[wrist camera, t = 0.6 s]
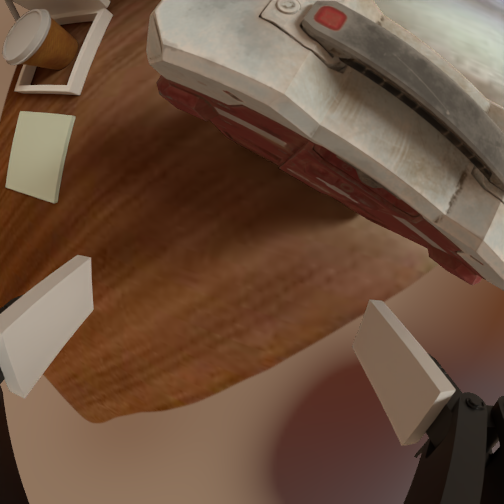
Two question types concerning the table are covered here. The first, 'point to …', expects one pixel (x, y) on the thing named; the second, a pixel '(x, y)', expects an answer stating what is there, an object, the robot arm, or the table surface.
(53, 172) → the board
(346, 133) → the first aid kit
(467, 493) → the robot arm
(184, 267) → the table surface
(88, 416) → the table surface
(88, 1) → the access hatch
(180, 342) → the table surface
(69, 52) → the disposable coffee cup
